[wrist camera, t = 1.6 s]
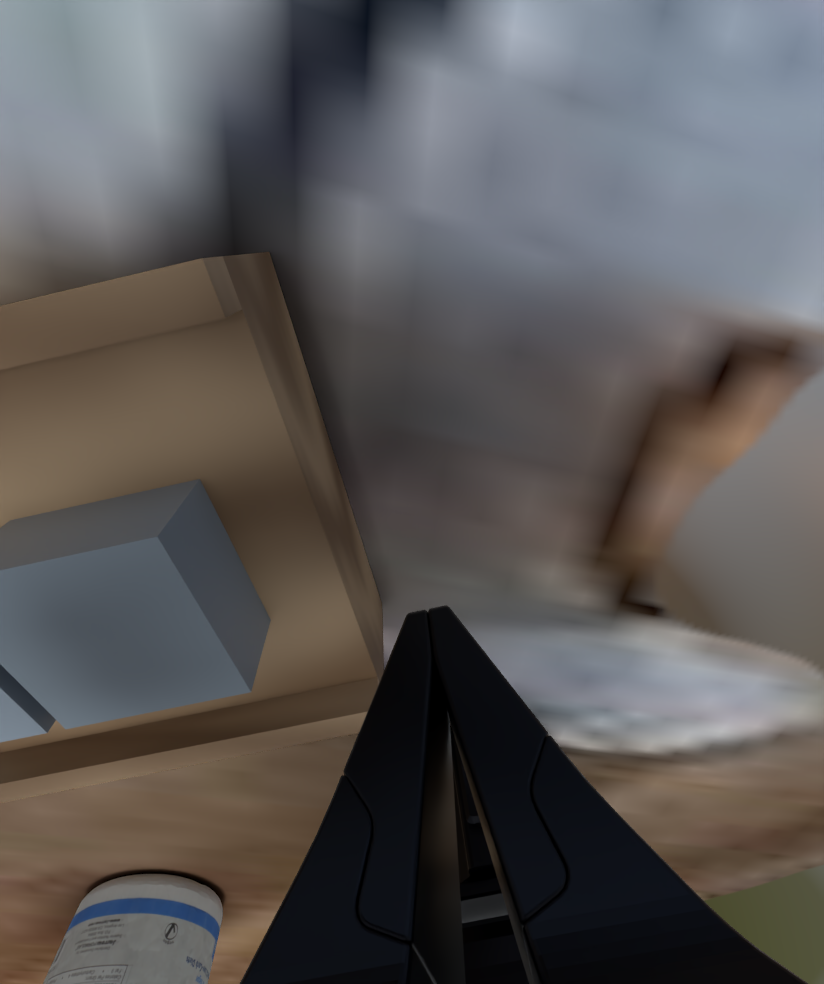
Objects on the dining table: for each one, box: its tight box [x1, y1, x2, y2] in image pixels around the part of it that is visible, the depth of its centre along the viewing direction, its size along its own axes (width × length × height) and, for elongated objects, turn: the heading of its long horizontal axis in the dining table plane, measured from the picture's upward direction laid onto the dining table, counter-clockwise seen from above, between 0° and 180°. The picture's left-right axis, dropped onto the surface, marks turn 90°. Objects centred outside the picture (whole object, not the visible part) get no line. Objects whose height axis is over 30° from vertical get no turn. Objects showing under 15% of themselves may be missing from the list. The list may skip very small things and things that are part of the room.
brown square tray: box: [0, 252, 384, 803], centre depth 14 cm, size 14×14×6 cm
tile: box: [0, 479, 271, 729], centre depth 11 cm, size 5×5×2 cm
